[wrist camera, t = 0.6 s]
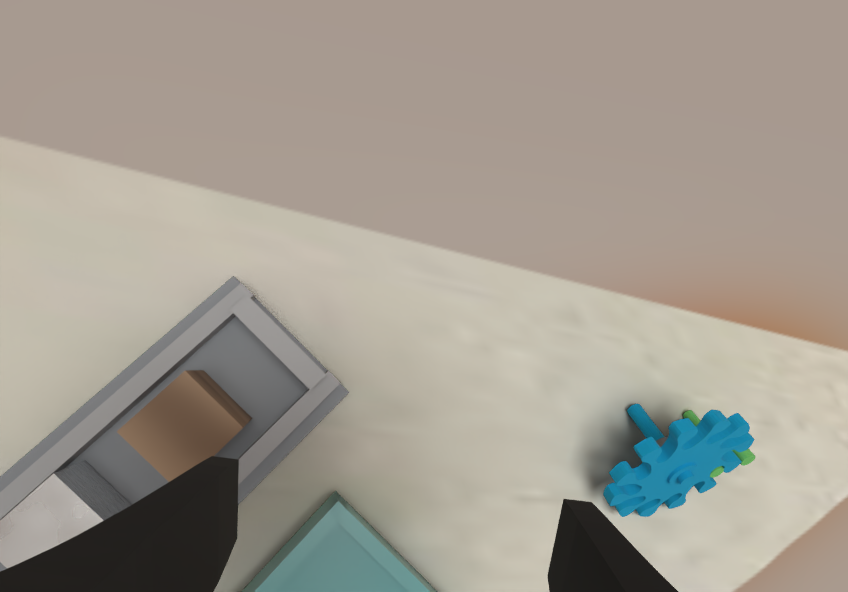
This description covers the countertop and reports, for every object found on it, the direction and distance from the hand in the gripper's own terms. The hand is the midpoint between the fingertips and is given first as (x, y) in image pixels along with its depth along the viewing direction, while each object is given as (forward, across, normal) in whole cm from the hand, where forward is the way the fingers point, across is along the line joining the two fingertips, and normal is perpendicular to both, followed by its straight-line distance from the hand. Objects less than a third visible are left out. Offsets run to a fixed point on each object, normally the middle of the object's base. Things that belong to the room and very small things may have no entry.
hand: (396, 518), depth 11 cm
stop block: (+17, +12, +8) cm, 22 cm away
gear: (+24, -17, +11) cm, 31 cm away
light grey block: (+14, +17, +13) cm, 26 cm away
